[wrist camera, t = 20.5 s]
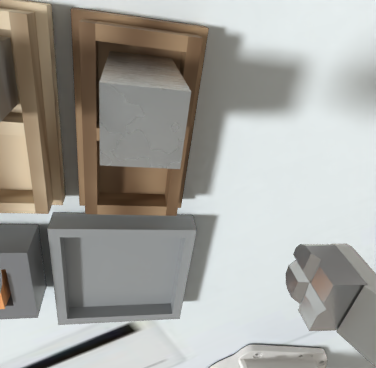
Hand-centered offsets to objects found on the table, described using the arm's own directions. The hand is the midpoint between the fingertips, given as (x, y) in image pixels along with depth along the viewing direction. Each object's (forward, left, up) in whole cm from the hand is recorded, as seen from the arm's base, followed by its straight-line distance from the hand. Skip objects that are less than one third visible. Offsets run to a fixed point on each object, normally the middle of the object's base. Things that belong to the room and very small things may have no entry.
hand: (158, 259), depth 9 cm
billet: (0, 0, -18) cm, 18 cm away
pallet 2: (0, +3, -20) cm, 20 cm away
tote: (+1, +20, -20) cm, 29 cm away
